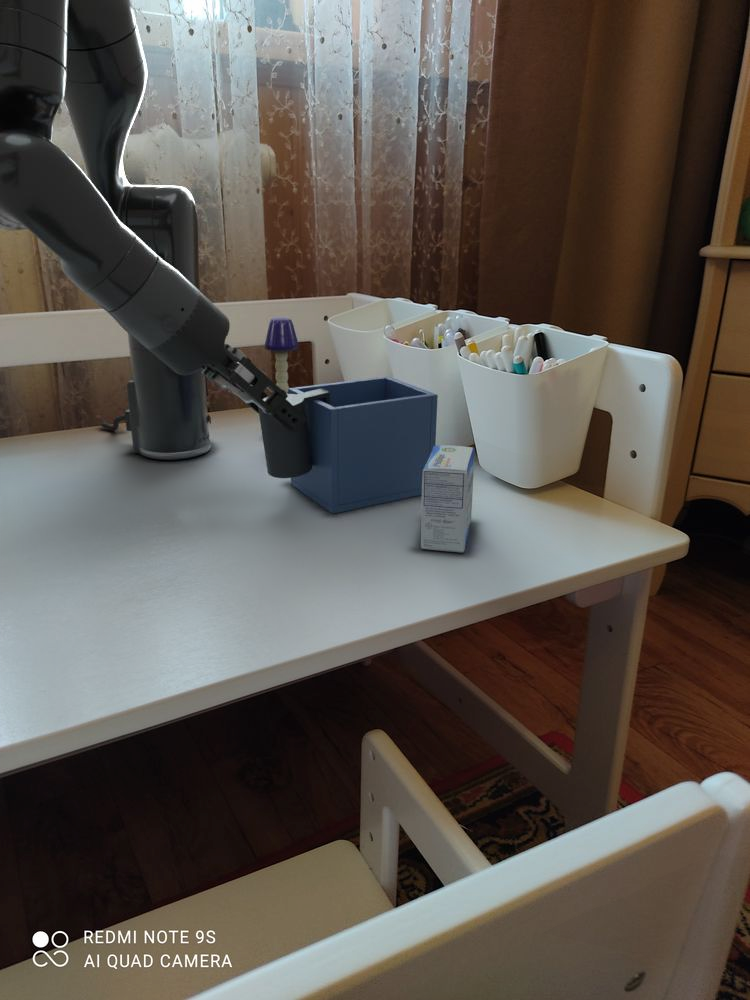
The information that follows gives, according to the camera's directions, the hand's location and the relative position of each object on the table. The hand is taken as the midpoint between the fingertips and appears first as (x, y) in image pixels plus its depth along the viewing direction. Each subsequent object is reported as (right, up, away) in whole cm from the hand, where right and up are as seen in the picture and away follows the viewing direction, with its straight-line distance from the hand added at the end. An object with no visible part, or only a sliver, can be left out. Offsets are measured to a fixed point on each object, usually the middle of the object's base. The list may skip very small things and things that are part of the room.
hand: (282, 416), depth 83 cm
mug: (+2, -5, +3) cm, 6 cm away
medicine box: (+17, -13, -4) cm, 22 cm away
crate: (+8, -8, +9) cm, 14 cm away
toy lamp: (-3, 0, +28) cm, 28 cm away
